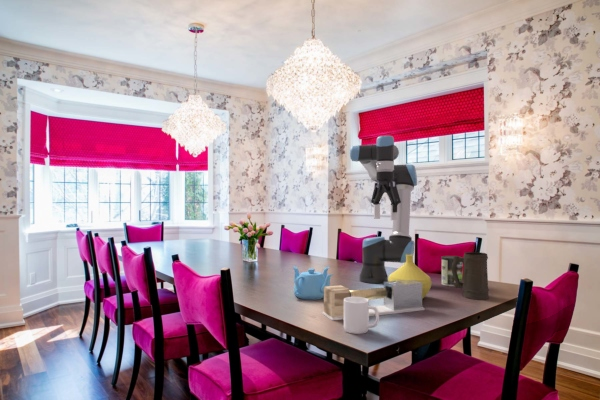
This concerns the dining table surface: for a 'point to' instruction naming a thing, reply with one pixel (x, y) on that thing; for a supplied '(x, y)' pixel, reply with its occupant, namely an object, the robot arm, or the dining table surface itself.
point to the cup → (358, 315)
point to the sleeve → (403, 294)
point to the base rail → (381, 310)
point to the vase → (412, 275)
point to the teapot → (311, 284)
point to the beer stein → (472, 275)
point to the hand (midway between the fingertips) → (385, 219)
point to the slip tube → (369, 293)
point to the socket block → (335, 300)
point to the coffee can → (450, 271)
